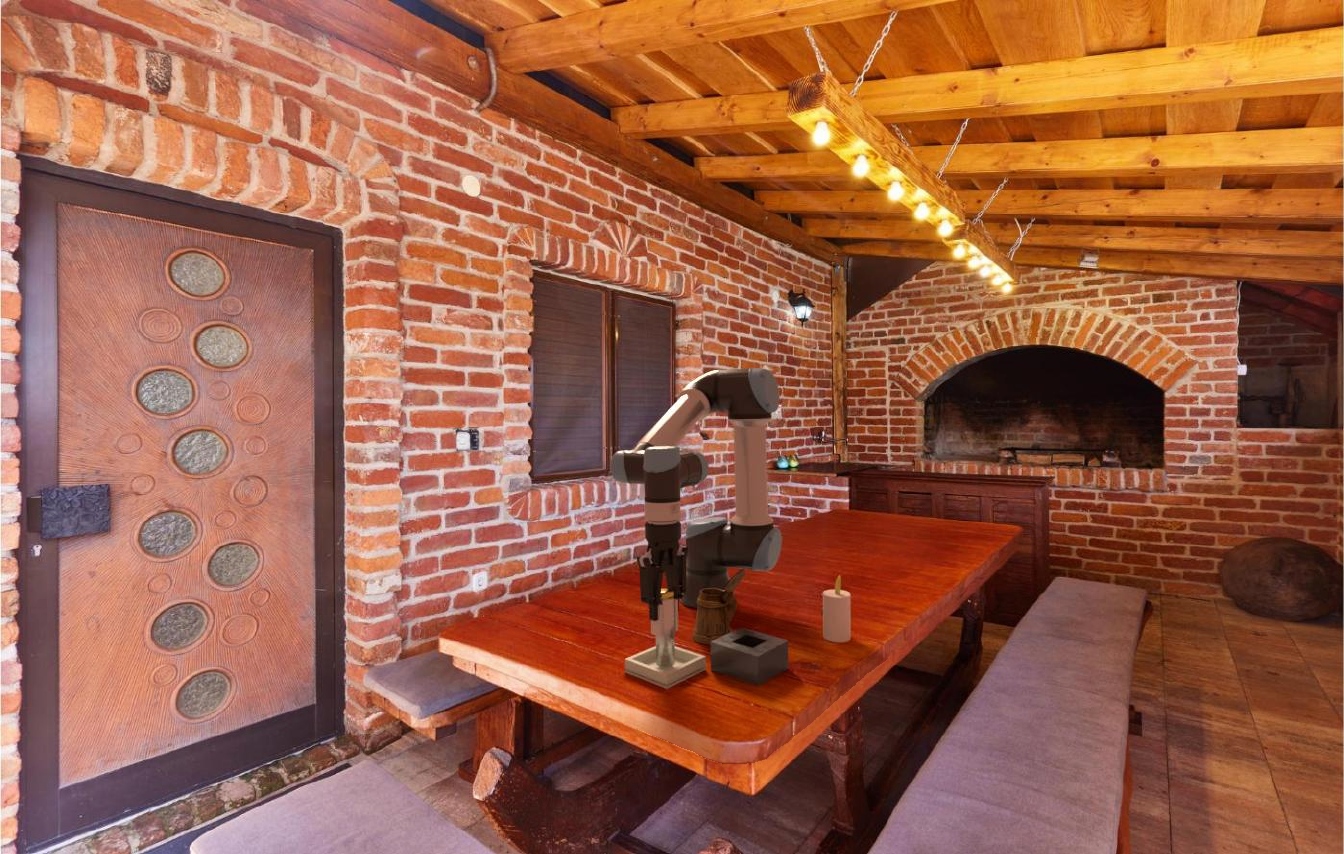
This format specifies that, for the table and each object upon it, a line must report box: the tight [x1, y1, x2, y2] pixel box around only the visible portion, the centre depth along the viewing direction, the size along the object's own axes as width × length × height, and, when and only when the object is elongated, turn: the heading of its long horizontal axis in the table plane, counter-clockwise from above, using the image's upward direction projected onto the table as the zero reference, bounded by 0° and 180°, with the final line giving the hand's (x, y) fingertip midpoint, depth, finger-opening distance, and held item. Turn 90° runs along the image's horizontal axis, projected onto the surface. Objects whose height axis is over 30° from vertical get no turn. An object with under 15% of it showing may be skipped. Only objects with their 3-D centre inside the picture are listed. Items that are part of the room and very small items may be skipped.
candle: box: [821, 574, 852, 643], centre depth 152 cm, size 6×6×15 cm
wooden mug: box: [692, 569, 746, 645], centre depth 152 cm, size 9×14×18 cm, turn 51°
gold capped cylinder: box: [654, 588, 676, 667], centre depth 135 cm, size 4×4×15 cm
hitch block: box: [710, 627, 789, 687], centre depth 135 cm, size 12×11×6 cm
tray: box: [624, 645, 707, 690], centre depth 135 cm, size 12×12×3 cm
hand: (664, 631), depth 135 cm, fingers closed on gold capped cylinder, 4 cm apart
